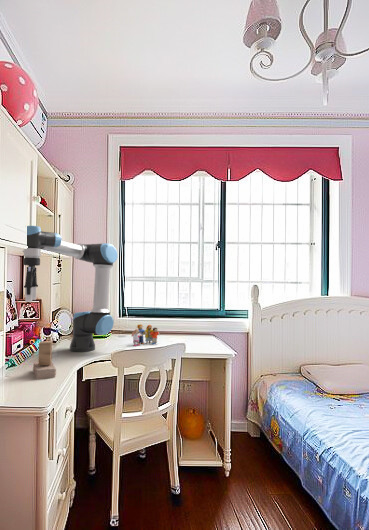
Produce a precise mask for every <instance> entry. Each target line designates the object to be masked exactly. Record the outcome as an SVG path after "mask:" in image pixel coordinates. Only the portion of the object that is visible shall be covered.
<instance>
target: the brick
mask: <svg viewBox="0 0 369 530" xmlns="http://www.w3.org/2000/svg"><path fill="white" fill-rule="evenodd" d="M32 365H33V367H32V372H33V374H34V376H35V379H37V380H43V379H44V380H45V379H55V378H56V375H57V368H56V367H55V366H54V363H53V362H52V363H51V364H50V365H40V366H39V361H35V362H34V361H33V364H32Z"/></svg>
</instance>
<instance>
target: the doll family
mask: <svg viewBox="0 0 369 530" xmlns="http://www.w3.org/2000/svg"><path fill="white" fill-rule="evenodd" d="M152 327H153V326H152V325H151V324H147V326H146V329H143V324H137V326H136V328H135V329H134V331H132V332H131V337H132V339H133V341H132V342H133V347H138V346H141V345H140V344H143V345H145V344H146V343H151V345H156V344H155V343H158V336H160V335H161V334H160V332H159V331H158V327H153V328H152ZM144 335H145V336H144ZM144 338H145V340H144Z"/></svg>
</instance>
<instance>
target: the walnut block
mask: <svg viewBox="0 0 369 530" xmlns="http://www.w3.org/2000/svg"><path fill="white" fill-rule="evenodd" d="M52 351H53V340H47V341H46V340H45V341H44V340H41V341H39V343H38V362H39V366H40V365H50V364H51V363H53V362H52V361H53V360H52V358H53V357H52V356H53V354H52V353H53V352H52Z"/></svg>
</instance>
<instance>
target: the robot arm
mask: <svg viewBox="0 0 369 530" xmlns="http://www.w3.org/2000/svg"><path fill="white" fill-rule="evenodd" d="M26 226H27V246H28V248H27V249H24V248H23V250H22V253H23V257H24V258H23V265H24V266H27V267H26V273H25V283H24V285H23V288H25V302H27V303H28V302H29V303H32V302H33V301H36V300H37V288H38V286H39V284H38V280H37V279H38V278H37V277H38V276H37V267H36V266H40V265H41V258H40V257H41V250H43V251H47V252H48V251H49V252H51V253H56V254H60V255H61V254H62V255H66V256H69V257H73V258H74V259H76V260H80V261H84V262H87V263H91V264H92V265H93V267H94V269H95V270H94V271H95V272H94V287H93V288H94V289H93V302H92V304H93V306H92V309H91V310H90V311H79V312H74V313H73V318H72V338H71V341H70V345H69V351H71V352H78V353H79V352H80V353H84V352H91V351H94V350H95V351H96V343H95V340H94V338H93V337H94V334H95V335H99V336H101V335H103V336H104V335H105V336H106V335H107V334H109V333H110V332H111V331H112V329H113V327H114V325H115V324H114V323H115V322H114V319H113V316H112V315H111V310H109V293H110V276H111V275H110V274H111V269H112V268H113V267H114V263H115V262H116V261H117V259H118V250H117V249H116V247H115V246H114V245H113V244H112V243H107V242H105V243H88V244H87V243H72V242H69V241H65V240H62V236H61V235H60V234H59V233H57V232H52V231H51V232H49V231H43V230H42V228H41V226H39V225H26Z"/></svg>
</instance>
